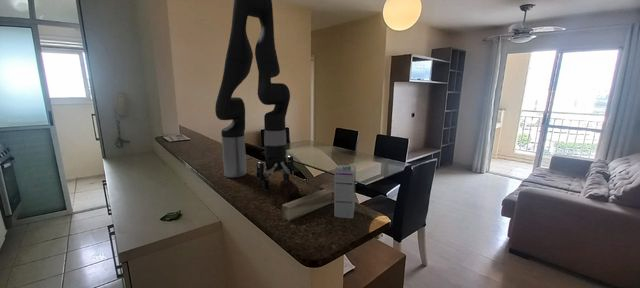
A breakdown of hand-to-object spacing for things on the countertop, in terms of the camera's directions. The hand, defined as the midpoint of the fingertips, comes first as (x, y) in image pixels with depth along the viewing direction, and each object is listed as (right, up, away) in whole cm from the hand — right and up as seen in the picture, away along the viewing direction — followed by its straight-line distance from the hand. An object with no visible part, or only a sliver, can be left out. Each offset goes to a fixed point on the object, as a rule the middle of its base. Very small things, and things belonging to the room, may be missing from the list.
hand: (276, 187), depth 94 cm
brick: (+5, -3, -2) cm, 7 cm away
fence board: (+12, -5, -11) cm, 17 cm away
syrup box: (+23, -6, -14) cm, 27 cm away
